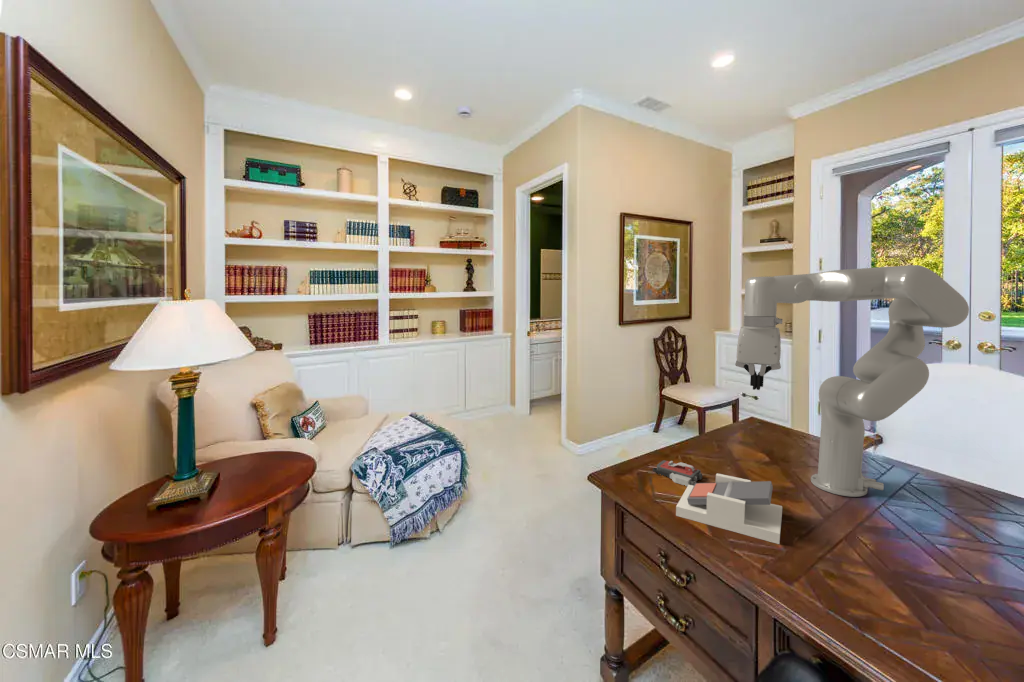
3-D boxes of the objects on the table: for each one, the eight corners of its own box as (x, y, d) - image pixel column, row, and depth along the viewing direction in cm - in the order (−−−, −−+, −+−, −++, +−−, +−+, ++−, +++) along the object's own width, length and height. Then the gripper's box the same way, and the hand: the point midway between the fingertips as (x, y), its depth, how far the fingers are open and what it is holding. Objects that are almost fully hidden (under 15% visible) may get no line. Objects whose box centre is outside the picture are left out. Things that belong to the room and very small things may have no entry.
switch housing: (781, 515, 103) (783, 487, 102) (779, 544, 91) (781, 512, 90) (688, 492, 115) (689, 467, 114) (675, 515, 104) (676, 487, 103)
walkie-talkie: (648, 476, 127) (717, 497, 113) (649, 462, 127) (717, 482, 113) (661, 467, 133) (727, 486, 119) (661, 454, 133) (728, 471, 119)
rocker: (773, 488, 101) (770, 480, 101) (770, 505, 93) (768, 497, 93) (697, 489, 112) (695, 482, 112) (689, 505, 104) (686, 497, 104)
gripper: (793, 322, 110) (789, 389, 112) (730, 321, 118) (728, 383, 121) (792, 324, 104) (788, 395, 106) (726, 323, 112) (724, 388, 115)
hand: (756, 388), depth 113 cm, fingers closed
